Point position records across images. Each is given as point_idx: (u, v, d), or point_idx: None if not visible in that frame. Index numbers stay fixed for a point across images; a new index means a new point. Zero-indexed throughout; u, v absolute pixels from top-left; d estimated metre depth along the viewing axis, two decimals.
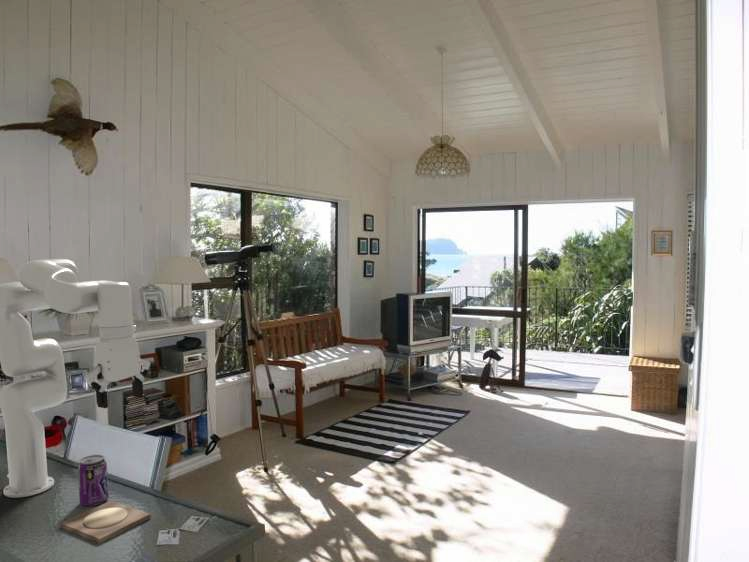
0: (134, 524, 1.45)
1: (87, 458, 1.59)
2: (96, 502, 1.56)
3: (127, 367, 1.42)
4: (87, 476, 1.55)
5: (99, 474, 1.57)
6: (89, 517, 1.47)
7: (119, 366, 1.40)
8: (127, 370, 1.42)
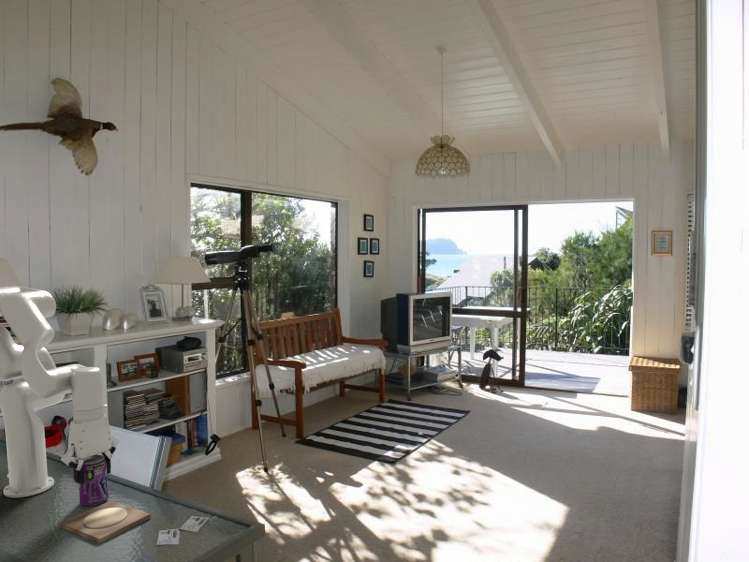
0: (134, 524, 1.45)
1: (87, 458, 1.59)
2: (96, 502, 1.56)
3: (98, 444, 1.58)
4: (87, 476, 1.55)
5: (99, 474, 1.57)
6: (89, 517, 1.47)
7: (90, 444, 1.56)
8: (98, 447, 1.58)
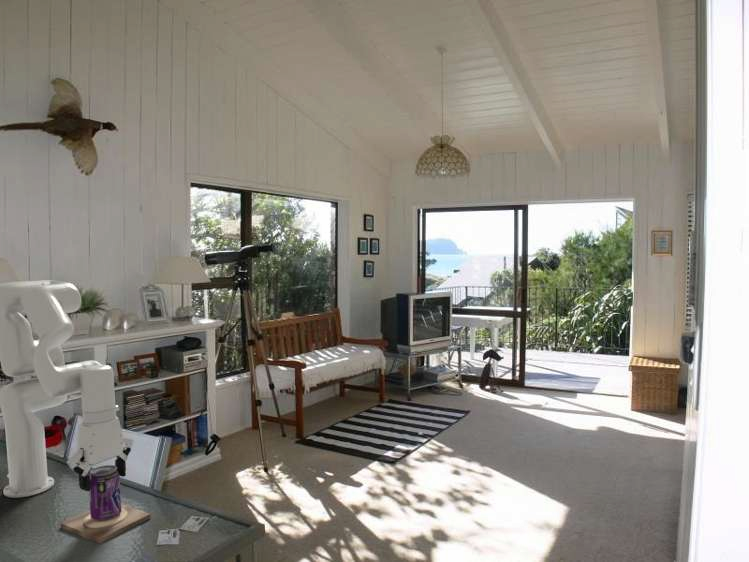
0: (134, 524, 1.45)
1: (98, 469, 1.47)
2: (108, 517, 1.44)
3: (109, 449, 1.45)
4: (98, 489, 1.43)
5: (112, 487, 1.45)
6: (89, 517, 1.47)
7: (101, 449, 1.43)
8: (109, 452, 1.45)
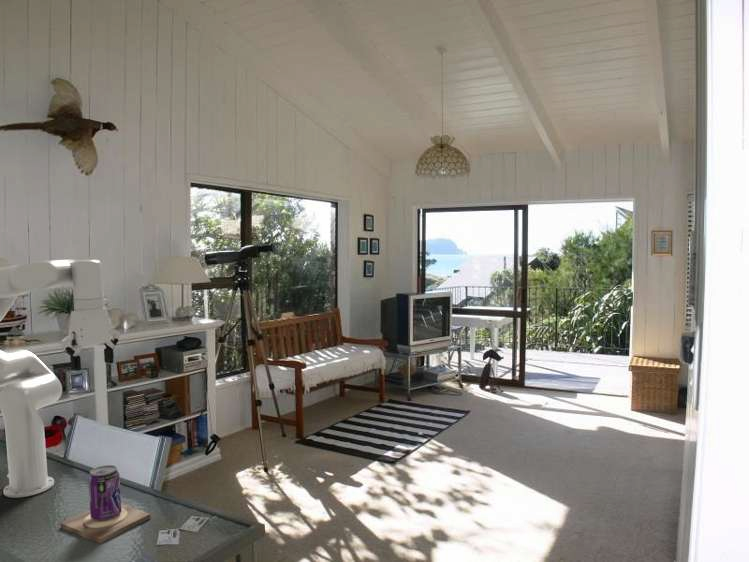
0: (134, 524, 1.45)
1: (98, 469, 1.47)
2: (108, 517, 1.44)
3: (98, 335, 1.60)
4: (98, 489, 1.43)
5: (112, 487, 1.45)
6: (89, 517, 1.47)
7: (91, 333, 1.58)
8: (98, 338, 1.60)
